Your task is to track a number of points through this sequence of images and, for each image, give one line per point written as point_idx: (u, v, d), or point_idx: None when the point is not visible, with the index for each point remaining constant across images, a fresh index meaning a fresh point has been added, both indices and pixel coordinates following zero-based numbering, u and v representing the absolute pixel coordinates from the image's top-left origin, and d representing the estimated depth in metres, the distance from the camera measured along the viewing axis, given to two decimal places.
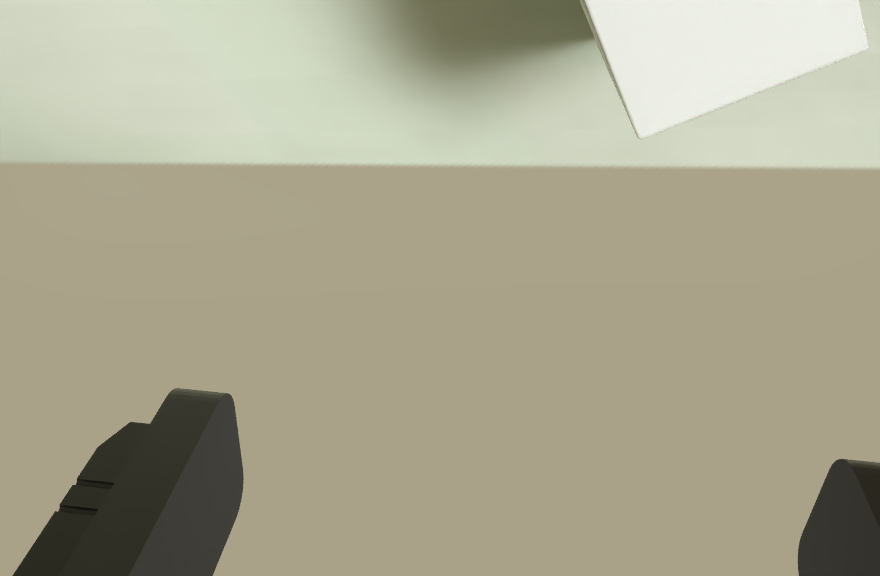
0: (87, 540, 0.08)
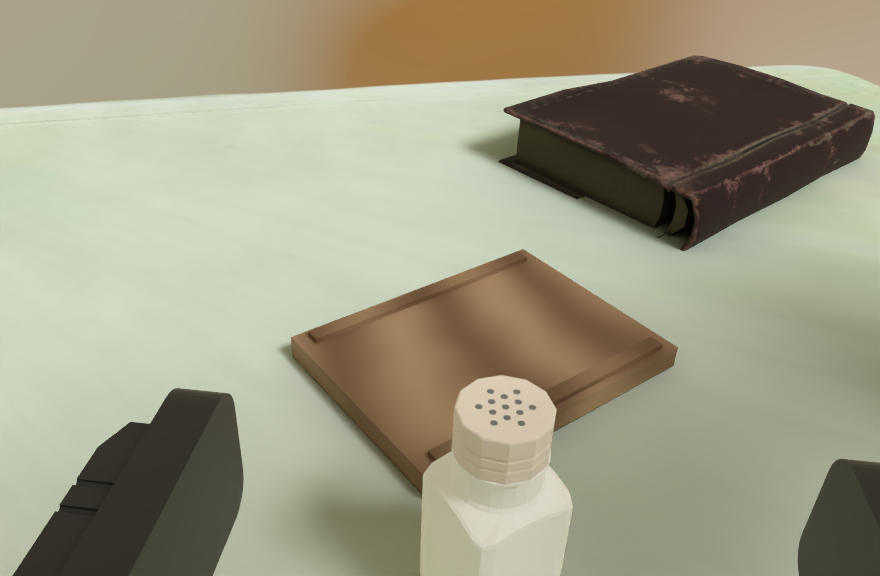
0: (87, 540, 0.08)
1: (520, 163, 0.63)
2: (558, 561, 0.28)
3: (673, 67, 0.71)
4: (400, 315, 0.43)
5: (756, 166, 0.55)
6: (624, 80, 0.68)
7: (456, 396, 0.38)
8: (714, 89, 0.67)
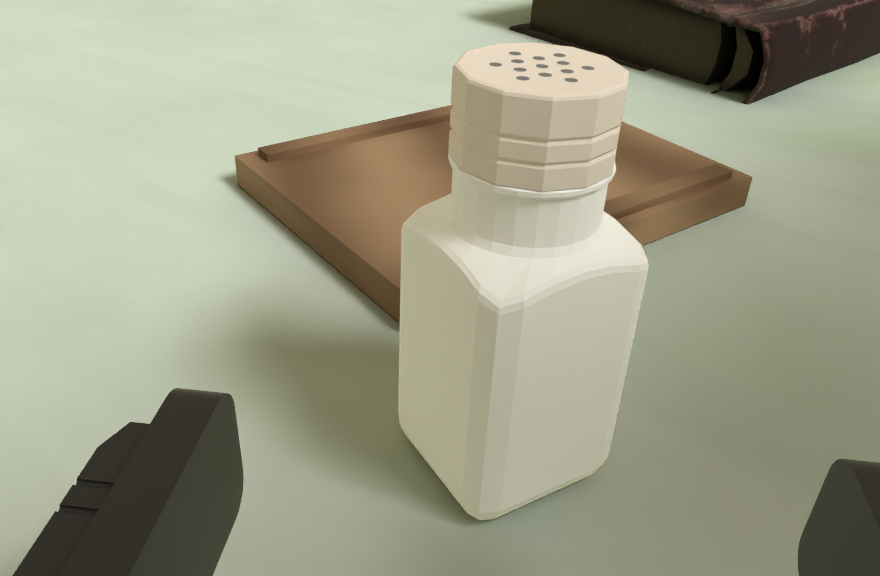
0: (87, 540, 0.08)
1: (535, 29, 0.52)
2: (620, 370, 0.17)
3: None
4: (382, 139, 0.33)
5: (830, 8, 0.45)
6: None
7: None
8: None
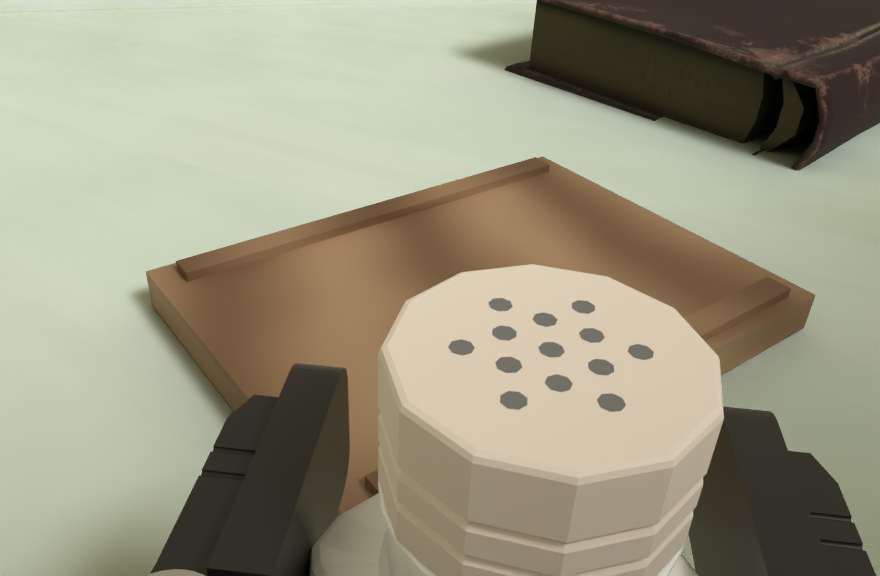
0: (243, 499, 0.09)
1: (535, 69, 0.45)
2: None
3: None
4: (341, 241, 0.26)
5: None
6: None
7: None
8: None
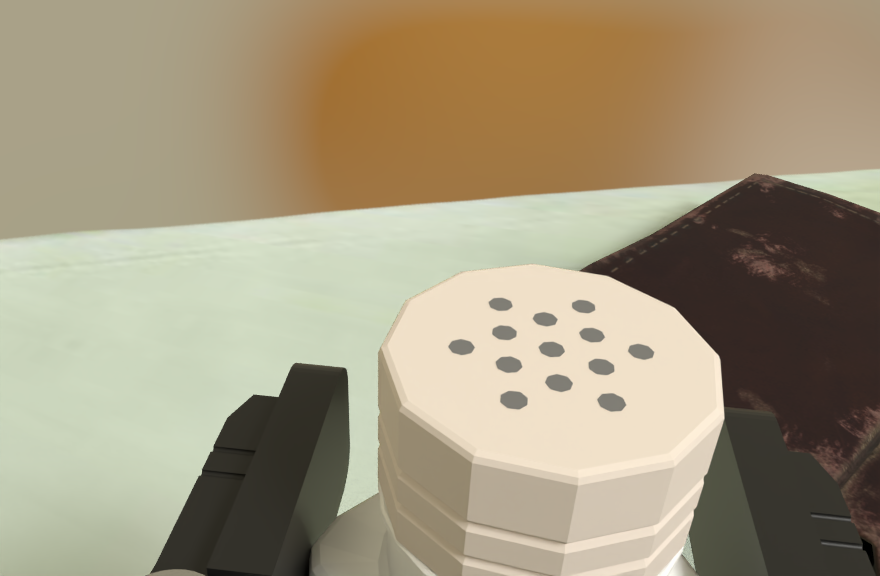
0: (242, 499, 0.09)
1: None
2: None
3: (736, 201, 0.48)
4: None
5: None
6: (674, 233, 0.45)
7: None
8: (810, 244, 0.44)
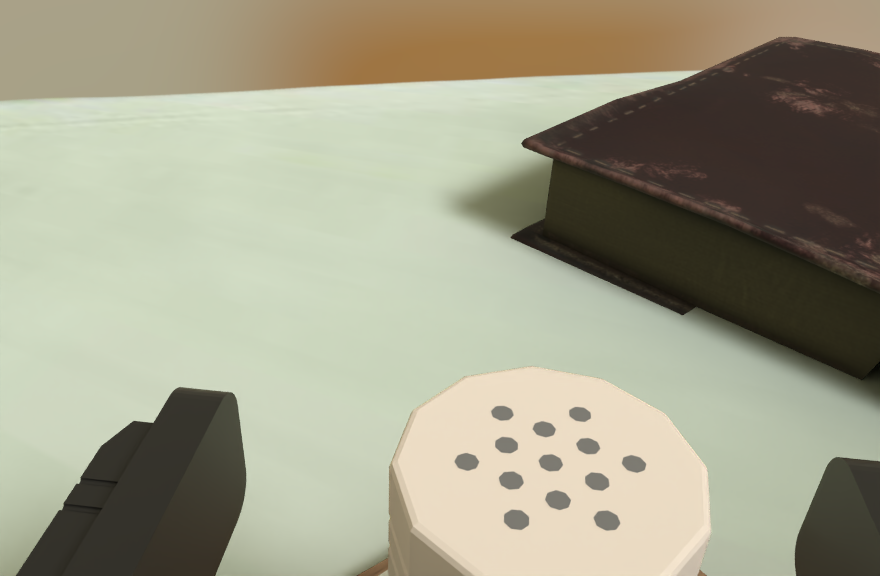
0: (91, 538, 0.08)
1: (552, 239, 0.34)
2: None
3: (765, 55, 0.43)
4: None
5: None
6: (703, 79, 0.40)
7: None
8: (855, 89, 0.40)
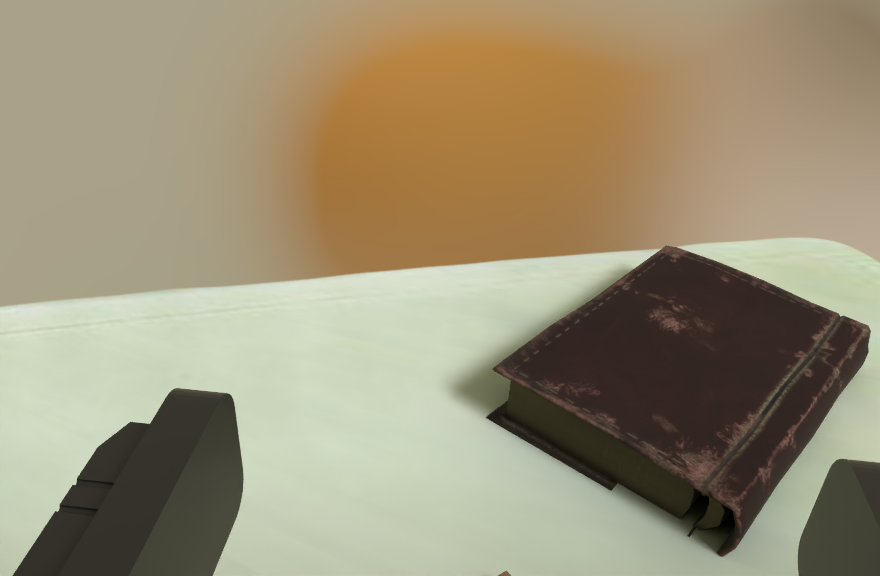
0: (87, 540, 0.08)
1: (511, 419, 0.55)
2: None
3: (652, 270, 0.66)
4: None
5: (783, 439, 0.50)
6: (608, 298, 0.62)
7: None
8: (704, 304, 0.62)
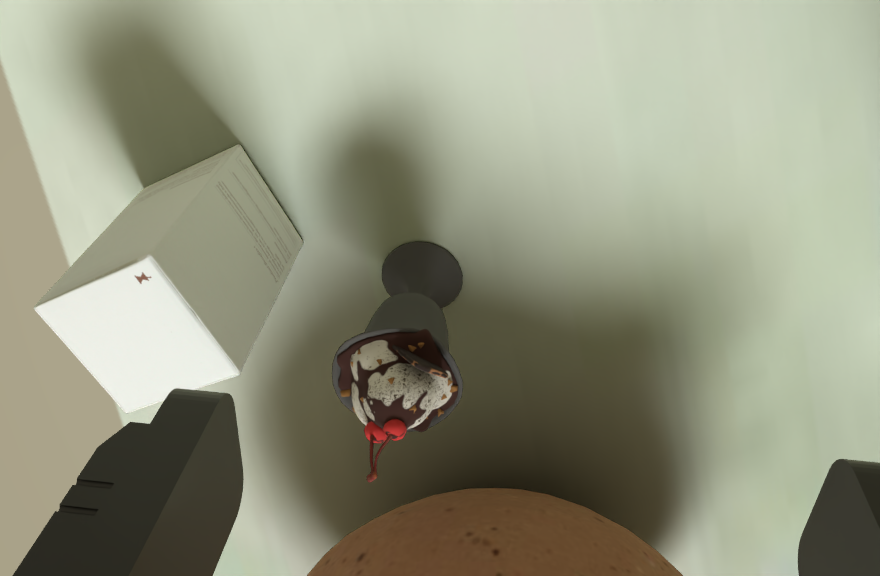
0: (87, 540, 0.08)
1: None
2: None
3: None
4: None
5: None
6: None
7: None
8: None
